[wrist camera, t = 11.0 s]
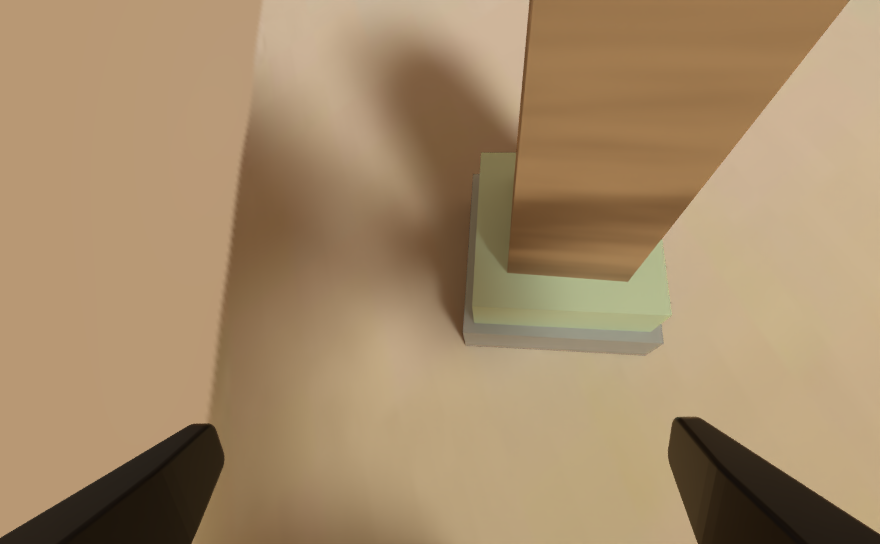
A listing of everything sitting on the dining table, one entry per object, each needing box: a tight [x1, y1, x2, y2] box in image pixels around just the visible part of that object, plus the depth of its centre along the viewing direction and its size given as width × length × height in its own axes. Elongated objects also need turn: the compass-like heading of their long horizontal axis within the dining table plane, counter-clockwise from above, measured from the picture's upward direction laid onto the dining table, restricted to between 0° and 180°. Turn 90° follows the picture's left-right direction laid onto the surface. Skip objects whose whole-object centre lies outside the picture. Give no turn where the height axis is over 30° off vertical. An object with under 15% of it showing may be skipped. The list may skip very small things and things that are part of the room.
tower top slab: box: [472, 153, 672, 332], centre depth 21 cm, size 8×8×2 cm
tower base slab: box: [463, 174, 664, 355], centre depth 23 cm, size 9×9×2 cm
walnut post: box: [507, 0, 850, 282], centre depth 14 cm, size 5×5×13 cm
